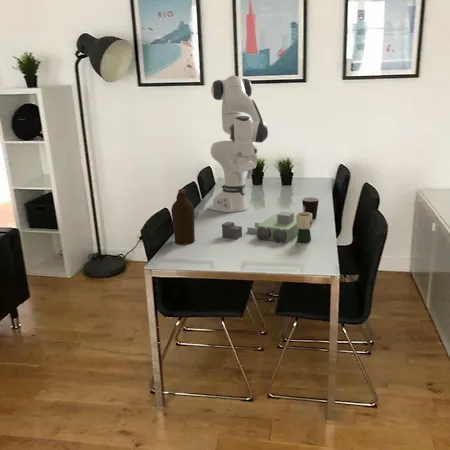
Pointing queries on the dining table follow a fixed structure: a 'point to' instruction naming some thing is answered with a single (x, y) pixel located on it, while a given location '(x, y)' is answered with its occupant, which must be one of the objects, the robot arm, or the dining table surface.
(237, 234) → the grey stepped block
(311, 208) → the coffee mug
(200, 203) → the dining table surface
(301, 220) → the character mug
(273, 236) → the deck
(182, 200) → the olive oil
